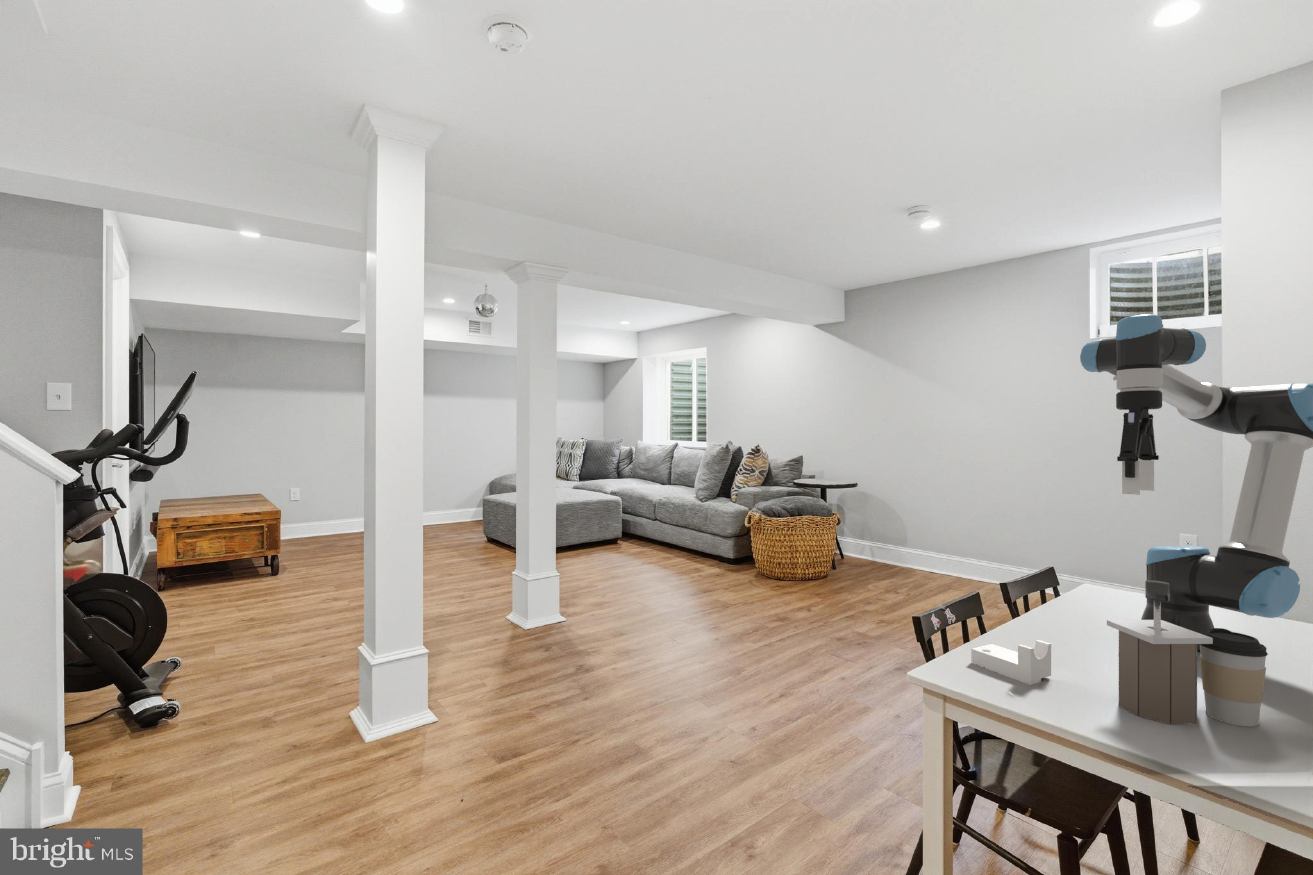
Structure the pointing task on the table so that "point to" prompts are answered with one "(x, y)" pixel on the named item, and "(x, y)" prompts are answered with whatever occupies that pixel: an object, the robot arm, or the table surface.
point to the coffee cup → (1233, 676)
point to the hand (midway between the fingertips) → (1138, 492)
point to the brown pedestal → (1158, 670)
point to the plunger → (1157, 598)
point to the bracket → (1016, 661)
